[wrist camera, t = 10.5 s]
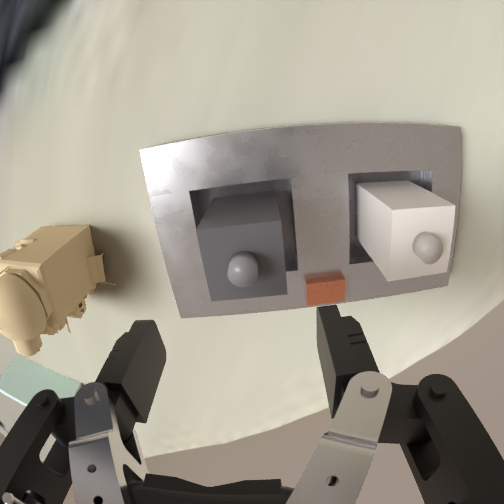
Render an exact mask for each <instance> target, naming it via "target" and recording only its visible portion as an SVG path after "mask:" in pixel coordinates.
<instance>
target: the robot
mask: <svg viewBox="0 0 504 504" xmlns="http://www.w3.org/2000/svg"><path fill="white" fill-rule="evenodd" d="M14 247H15V248H14V249H9V250H6V251H5V252H3V253H1V254H0V332H1V333H2V334H3V335H4V336H6V337H7V338H9V339H11V340H13V342H14V345H15V347H16V350H17V352H18V353H20V355H21V356H25V357H29V356H32V355H35V354H36V353H37V352H38V351H40V348H41V346H42V341H41V338H40V334H48V335H54V334H55V333H58V330H62V328H63V327H64V326H65V324H67V328H68V331H69V333H70V329H69V326H68V322H67V318H66V317H74V318H81V317H82V315H83V313H84V312H85V310H86V304H85V300H84V299H85V298H86V297H87V293H88V292H89V293H94V292H95V290H94V289H95V288H96V284H98V283H100V282H105V283H103V284H108V283H107V282H106V281H105V279H106V276H107V274H106V276H105V274H104V267H103V259H102V255H103V254H104V253H102V254H101V255H97V256H95V251H94V246H93V241H92V236H91V230H90V225H71V226H48V227H40V228H39V229H38V230H36V231H35V232H34V233H32V234H31V235H29V236H28V237H27V238H25V239H23V240H19V241H18V242H16V244H15V246H14ZM110 284H111V283H110ZM115 284H116V283H114V284H112V285H114V286H115ZM81 312H83V313H82V314H81Z"/></svg>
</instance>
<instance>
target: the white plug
mask: <svg viewBox="0 0 504 504" xmlns="http://www.w3.org/2000/svg"><path fill="white" fill-rule="evenodd" d="M356 195H357V239H358V241H359V242H360V243H361V245H362V246H363V248H364V249H365V250H366V252H367V253H368V254H369V256H370V257H371V258H372V260H373V261H374V263H375V264H376V265H377V267H378V268H379V270H380V271H381V272H382V274H383V275H384V277H385V278H386V280H387V281H395V280H401V279H408V278H414V277H420V276H427V275H433V274H438V273H444V272H447V269H448V263H449V256H450V250H451V243H452V235H453V227H454V217H455V205H454V204H452V203H450V202H448V201H447V200H445V199H443V198H441V197H439V196H437V195H435V194H434V193H432V192H430V191H428V190H426V189H424V188H422V187H420V186H418V185H416V184H414V183H412V182H410V181H387V182H369V183H356Z"/></svg>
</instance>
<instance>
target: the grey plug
mask: <svg viewBox="0 0 504 504" xmlns="http://www.w3.org/2000/svg"><path fill="white" fill-rule="evenodd" d="M196 234H197V239H198V244H199V248H200V253H201V258H202V262H203V267H204V271H205V276H206V280H207V285H208V289H209V293H210V298H211V302H212V301H224V300H235V299H246V298H257V297H267V296H277V295H286V294H288V291H287V279H286V267H285V256H284V245H283V235H282V225H281V218H280V213H279V208H278V204H277V199H276V195H275V190H274V191H265V192H257V193H248V194H240V195H232V196H224V197H217V198H213V200H212V202H211V204H210V205H209V207H208V209H207V211H206V213H205V214H204V216H203V218H202V220H201V222H200V224H199V225H198V227H197V229H196Z"/></svg>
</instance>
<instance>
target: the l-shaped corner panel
mask: <svg viewBox="0 0 504 504" xmlns="http://www.w3.org/2000/svg"><path fill="white" fill-rule="evenodd" d="M81 387H82V385H81V382H78V381H76V380H73V379H71V378H68V377H66V376H63V375H61V374H59V373H56V372H54V371H52V370H50V369H47V368H45V367H43V366H41V365H39V364H36V363H34V362H32V361H30V360H28V359H26V358H24V357H22V356H20V355H18V354H17V355H16V357H15V358H14V359H13V361H12V362H11V363H10V365H9V366H8V368H7V369H6V370H5V372H4V373H3V374H2V376H1V377H0V392H2V393H3V394H5V395H7V396H8V397H10V398H12V399H14V400H15V401H17V402H19V403H21V404H23V405H24V406H27V405H28V404H29V402H30V401H31V399H32V398H33V397H34V395H35V394H37V393H38V392H40V391H42V390H45V389H50V390H53V391H55V393H56V394H57V395H58V397H59V398H67V397H74V396H75V395H76V393H77V391H78V390H79V389H80V388H81Z"/></svg>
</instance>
